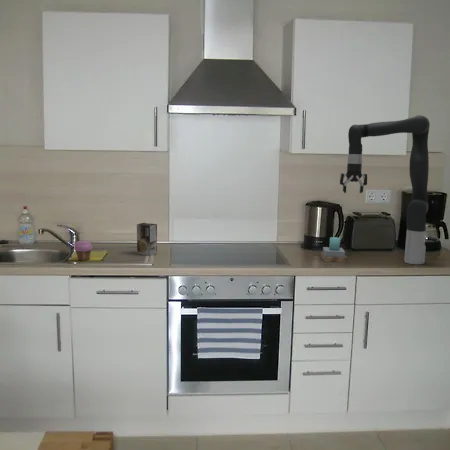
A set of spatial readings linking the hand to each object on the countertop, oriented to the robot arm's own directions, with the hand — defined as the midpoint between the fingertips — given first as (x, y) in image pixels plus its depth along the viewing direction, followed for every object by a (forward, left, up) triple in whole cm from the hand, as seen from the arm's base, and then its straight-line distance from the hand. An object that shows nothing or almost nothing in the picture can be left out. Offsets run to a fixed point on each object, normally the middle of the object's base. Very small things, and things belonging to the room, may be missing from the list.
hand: (352, 192), depth 292 cm
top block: (+11, +12, -32) cm, 36 cm away
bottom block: (+11, +12, -35) cm, 38 cm away
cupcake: (+140, +22, -34) cm, 146 cm away
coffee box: (+110, +6, -34) cm, 115 cm away
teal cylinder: (+11, +12, -29) cm, 33 cm away
